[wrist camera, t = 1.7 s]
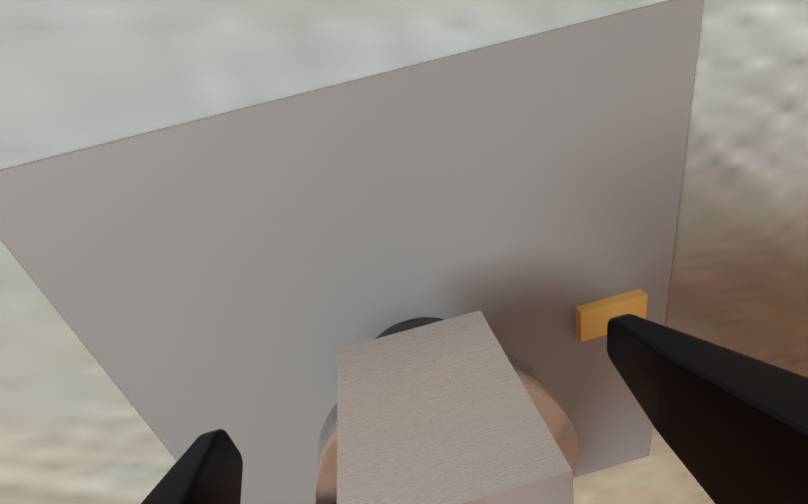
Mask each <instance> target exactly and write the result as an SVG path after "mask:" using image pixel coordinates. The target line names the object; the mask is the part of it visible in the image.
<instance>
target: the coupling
mask: <svg viewBox="0 0 808 504" xmlns="http://www.w3.org/2000/svg"><path fill="white" fill-rule="evenodd" d="M578 460H579V442H578V437H577V434H576V431H575V428H574V427H573V425H572V423H571V422H570V420H569V418H568V417H567V415H566V414H565V412H564V411H563V409H562V408H561V406H560V404H559V403H558V401H557V400H556V398H555V397H554V395H553V394H552V392H551V391H550V389H549V388H548V386H547V384H546V383H545V381H544V380H543V378H542V377H541V376H540V375H539V374H538V373H537V372H536V371H535V370H534V369H533V368H532V367H530V366H529V365H528V364H526V363H525V362H523V361H521V360H519V359H518V358H516V357H514V356H511V355H509V354H506V353H505V352H504V351H503V349H502V347H501V345H500V344H499V342H498V340H497V339H496V337H495V335H494V333H493V332H492V330H491V328H490V326H489V325H488V323H487V321H486V319H485V318H484V316H483V314H482V312H481V311H480V310H478V311H474V312H470V313H467V314H463V315H460V316H456V317H452V318H449V319H445V320H442V321H438V322H434V323H431V324H427V325H424V326H420V327H416V328H413V329H409V330H406V331H402V332H399V333H395V334H391V335H388V336H384V337H381V338H377V339H373V340H370V341H366V342H363V343H359V344H355V345H352V346H348V347H345V348H341V349H338V396H337V403H336V404H335V406H334V407H333V408H332V410H331V412H330V413H329V415H328V417H327V418H326V420H325V423H324V425H323V428H322V430H321V434H320V438H319V443H318V461H317V479H316V504H573V476H574V474H575V471H576V468H577V464H578Z"/></svg>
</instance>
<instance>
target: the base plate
mask: <svg viewBox="0 0 808 504" xmlns="http://www.w3.org/2000/svg"><path fill="white" fill-rule="evenodd" d="M703 6H704V0H668V1H664V2H660V3H656V4H652V5H649V6H645V7H641V8H637V9H633V10H629V11H625V12H621V13H617V14H613V15H609V16H605V17H601V18H597V19H593V20H589V21H585V22H581V23H577V24H574V25H570V26H566V27H562V28H558V29H554V30H550V31H546V32H542V33H538V34H534V35H530V36H526V37H522V38H518V39H514V40H510V41H506V42H503V43H499V44H495V45H491V46H487V47H483V48H479V49H475V50H471V51H467V52H463V53H459V54H455V55H451V56H447V57H443V58H439V59H435V60H432V61H428V62H424V63H420V64H416V65H412V66H408V67H404V68H400V69H396V70H392V71H388V72H384V73H380V74H376V75H372V76H368V77H364V78H360V79H357V80H353V81H349V82H345V83H341V84H337V85H333V86H329V87H325V88H321V89H317V90H313V91H309V92H305V93H301V94H297V95H293V96H289V97H286V98H282V99H278V100H274V101H270V102H266V103H262V104H258V105H254V106H250V107H246V108H242V109H238V110H234V111H230V112H226V113H222V114H218V115H215V116H211V117H207V118H203V119H199V120H195V121H191V122H187V123H183V124H179V125H175V126H171V127H167V128H163V129H159V130H155V131H151V132H147V133H144V134H140V135H136V136H132V137H128V138H124V139H120V140H116V141H112V142H108V143H104V144H100V145H96V146H92V147H88V148H84V149H80V150H76V151H72V152H69V153H65V154H61V155H57V156H53V157H49V158H45V159H41V160H37V161H33V162H29V163H25V164H21V165H17V166H13V167H9V168H5V169H1V170H0V240H1V241H2V242H3V244H4V245H5V246H6V247H7V249H8V250H9V251H10V252H11V254H12V255H13V256H14V258H15V259H16V260H17V261H18V263H19V264H20V265H21V266H22V268H23V269H24V270H25V271H26V273H27V274H28V275H29V276H30V278H31V279H32V280H33V281H34V283H35V284H36V285H37V286H38V288H39V289H40V290H41V291H42V293H43V294H44V295H45V296H46V298H47V299H48V300H49V301H50V303H51V304H52V305H53V306H54V308H55V309H56V310H57V311H58V313H59V314H60V315H61V316H62V318H63V319H64V320H65V322H66V323H67V324H68V325H69V327H70V328H71V329H72V330H73V332H74V333H75V334H76V335H77V337H78V338H79V339H80V340H81V342H82V343H83V344H84V345H85V347H86V348H87V349H88V350H89V352H90V353H91V354H92V355H93V357H94V358H95V359H96V360H97V362H98V363H99V364H100V365H101V367H102V368H103V369H104V370H105V372H106V373H107V374H108V375H109V377H110V378H111V379H112V380H113V382H114V383H115V384H116V386H117V387H118V388H119V389H120V391H121V392H122V393H123V394H124V396H125V397H126V398H127V399H128V401H129V402H130V403H131V404H132V406H133V407H134V408H135V409H136V411H137V412H138V413H139V414H140V416H141V417H142V418H143V419H144V421H145V422H146V423H147V424H148V426H149V427H150V428H151V429H152V431H153V432H154V433H155V434H156V436H157V437H158V438H159V439H160V441H161V442H162V443H163V444H164V446H165V447H166V448H167V450H168V451H169V452H170V453H171V455H172V456H173V457H174V458H175V460H176V461H178V460H179V459H180V457H181V456H182V455H183V454H184V453H185V452H186V450H187V449H188V448H189V447H190V446H191V445H192V443H193V442H194V441H195V440H196V439H197V438H198V437H199V436H200V435H201V434H203V433H206V432H210V431H213V430H217V429H223V430H225V431H226V432H227V433H228V435H229V436H230V438H231V439H232V441H233V443H234V444H235V446H236V447H237V449H238V450H239V452H240V454H241V456H242V460H243V473H242V488H241V503H240V504H316V479H317V461H318V443H319V438H320V434H321V430H322V428H323V425H324V423H325V420H326V418H327V417H328V415H329V413H330V412H331V410H332V408H333V407H334V406H335V404H336V403H337V396H338V349H341V348H345V347H348V346H352V345H355V344H359V343H363V342H366V341H370V340H373V339H375V338H376V337H377V336H379V335H380V334H381V333H382V332H384V331H385V330H386V329H388V328H390V327H391V326H393V325H395V324H398V323H400V322H403V321H406V320H409V319H414V318H421V317H434V318H441V319H449V318H452V317H456V316H460V315H463V314H467V313H470V312H474V311H478V310H480V311H481V312H482V314H483V316H484V318H485V319H486V321H487V323H488V325H489V326H490V328H491V330H492V332H493V333H494V335H495V337H496V339H497V340H498V342H499V344H500V345H501V347H502V349H503V351H504V352H505V353H506V354H509V355H511V356H514V357H516V358H518V359H519V360H521V361H523V362H525V363H526V364H528V365H529V366H530V367H532V368H533V369H534V370H535V371H536V372H537V373H538V374H539V375H540V376H541V377H542V378H543V380H544V381H545V383H546V384H547V386H548V388H549V389H550V391H551V392H552V394H553V395H554V397H555V398H556V400H557V401H558V403H559V404H560V406H561V408H562V409H563V411H564V412H565V414H566V415H567V417H568V418H569V420H570V422H571V423H572V425H573V427H574V428H575V431H576V434H577V437H578V442H579V460H578V464H577V468H576V471H575V474H574V476H573V478H574V477H577V476H581V475H584V474H587V473H591V472H594V471H598V470H601V469H604V468H608V467H611V466H614V465H618V464H621V463H624V462H628V461H631V460H635V459H638V458H641V457H645V456H648V455H649V451H650V443H651V434H652V426H653V424H652V423H651V421H650V420H649V418H648V417H647V415H646V414H645V412H644V411H643V409H642V408H641V406H640V405H639V403H638V402H637V400H636V398H635V397H634V395H633V394H632V392H631V391H630V389H629V388H628V386H627V385H626V383H625V382H624V380H623V379H622V377H621V375H620V374H619V372H618V371H617V369H616V368H615V366H614V365H613V363H612V362H611V360H610V358H609V356H608V353H607V324H608V321H609V319H611V318H613V317H617V316H620V315H624V314H633V315H636V316H638V317H641V318H644V319H647V320H650V321H652V322H655V323H658V324H661V325H663V326H665V319H666V311H667V303H668V294H669V286H670V278H671V270H672V261H673V253H674V245H675V237H676V228H677V220H678V212H679V204H680V195H681V187H682V179H683V171H684V163H685V154H686V146H687V138H688V130H689V121H690V113H691V105H692V97H693V88H694V80H695V72H696V64H697V55H698V47H699V39H700V31H701V22H702V14H703Z"/></svg>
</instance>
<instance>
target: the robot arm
mask: <svg viewBox="0 0 808 504" xmlns="http://www.w3.org/2000/svg"><path fill="white" fill-rule="evenodd" d="M607 353H608V356H609V358H610V360H611V362H612V363H613V365H614V366H615V368H616V369H617V371H618V372H619V374H620V375H621V377H622V379H623V380H624V382H625V383H626V385H627V386H628V388H629V389H630V391H631V392H632V394H633V395H634V397H635V398H636V400H637V402H638V403H639V405H640V406H641V408H642V409H643V411H644V412H645V414H646V415H647V417H648V418H649V420H650V421H651V423H652V424H653V426H654V427H655V428H656V430H657V431H658V432H659V434H660V435H661V436H662V437H663V439H664V440H665V441H666V443H667V444H668V445H669V446H670V448H671V449H672V450H673V451H674V453H675V454H676V455H677V456H678V458H679V459H680V460H681V461H682V463H683V464H684V465H685V466H686V468H687V469H688V470H689V471H690V473H691V474H692V475H693V476H694V478H695V479H696V480H697V481H698V483H699V484H700V485H701V486H702V488H703V489H704V490H705V491H706V493H707V494H708V495H709V496H710V498H711V499H712V500H713V501H714V503H715V504H808V378H807V377H804V376H802V375H799V374H796V373H793V372H791V371H788V370H785V369H782V368H780V367H777V366H774V365H771V364H768V363H766V362H763V361H760V360H757V359H755V358H752V357H749V356H746V355H744V354H741V353H738V352H735V351H733V350H730V349H727V348H724V347H721V346H719V345H716V344H713V343H710V342H708V341H705V340H702V339H699V338H697V337H694V336H691V335H688V334H685V333H683V332H680V331H677V330H674V329H672V328H669V327H666V326H663V325H661V324H658V323H655V322H652V321H650V320H647V319H644V318H641V317H638V316H636V315H633V314H624V315H620V316H617V317H613V318H611V319H609V321H608V324H607ZM242 473H243V460H242V456H241V454H240V452H239V450H238V449H237V447H236V446H235V444H234V443H233V441H232V439H231V438H230V436H229V435H228V433H227V432H226V431H225V430H223V429H217V430H213V431H210V432H206V433H203V434H201V435H200V436H199V437H198V438H197V439H196V440H195V441H194V442H193V443H192V445H191V446H190V447H189V448H188V449H187V450H186V452H185V453H184V454H183V455H182V456H181V457H180V459H179V460H178V461H177V462H176V463H175V464H174V466H173V467H172V468H171V469H170V470H169V471H168V473H167V474H166V475H165V476H164V477H163V478H162V480H161V481H160V482H159V483H158V484H157V486H156V487H155V488H154V489H153V490H152V491H151V493H150V494H149V495H148V496H147V497H146V498H145V500H144V501H143V502H142V503H141V504H240V503H241V488H242Z"/></svg>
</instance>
